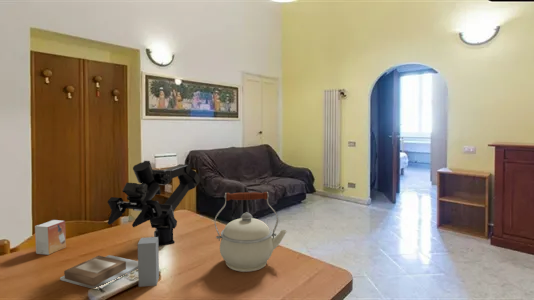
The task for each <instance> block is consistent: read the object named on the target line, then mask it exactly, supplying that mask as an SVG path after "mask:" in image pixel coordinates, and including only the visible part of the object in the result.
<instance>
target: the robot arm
mask: <svg viewBox="0 0 534 300" xmlns="http://www.w3.org/2000/svg"><path fill="white" fill-rule="evenodd" d="M132 170H133V172H134V175H135V178H136V179H137V182H138V183H136V182H126V183H125V185H124V187H123V189H122V192H123V193H124V194H126V200H127V201H124V199H123V198H122V197H116V196H115V197H112V196H111V197H110V198H109V199H108V200H107V204H108V206H109V208H110V210H111V211H110V213H109V217H108V220H107V224H108V225H112V224H113V223H114V222H116V221H117V220H118V219H120V218H121V217H122V216H123V214H124V213H125V212H127V211H126V210H127V209H128V210H132V211H136V212H137V211H138V212H139V214H138V215H137V217H135V220H134V221H133V222H132V224H131V225H132V228H136V227H137V226H139V225H141V224H143V223H146V222H150V226H151V229H155V230H154V231H153V237H158V247H159V246H165V245H170V244H173V243H175V242H176V241H175V240H174V229H176V227H177V224H178V221H177V219H176V218H175V211H176V209H177V208H178V206H179V205H180V203H181V202H182V200H183V199H184V198H185V196H186V195H187V194H188V193H189V191H191V190H194V189H195V188H196V187H197V186H198V185H199V184H200V182H201V181H200V180H201V178H200V176H199V174H198V172H197V171H195V170H194V169H193V168H191V166H190V165H189V164H177V165H176V166H172V167H169V168H165V169H153V167H152V165H151V161H150V160H144V161H142V162H139V163H137V164H135V165H133V167H132ZM175 178H177V179H178V182H179V184H178V186H177V187H175V190H174V191H173V192H172V193H171V195H169V197H168V199H166V201H165V202H164V203H160V202H159V201H158V200H152V199H153V198H154V197H155V195H158V196H159V195H161V193H162V191H161V187H160V185H161V186H165V185H168V184H169V183H171V182H172V179H175Z"/></svg>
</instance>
